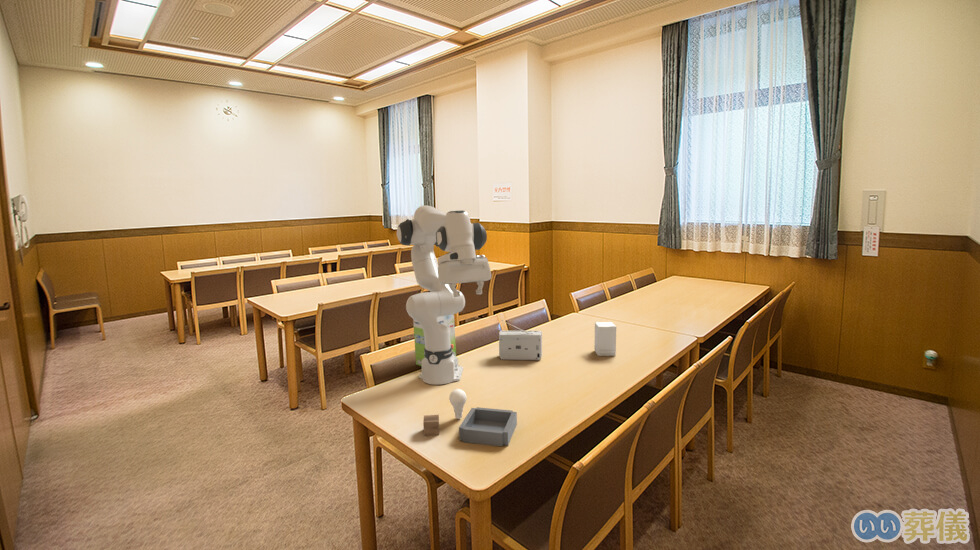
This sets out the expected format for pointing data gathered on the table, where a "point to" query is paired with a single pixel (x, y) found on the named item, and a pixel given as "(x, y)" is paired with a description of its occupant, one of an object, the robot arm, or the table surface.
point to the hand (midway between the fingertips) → (468, 295)
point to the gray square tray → (488, 426)
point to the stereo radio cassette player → (520, 345)
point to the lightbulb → (458, 401)
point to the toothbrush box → (420, 339)
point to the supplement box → (605, 339)
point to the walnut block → (431, 425)
